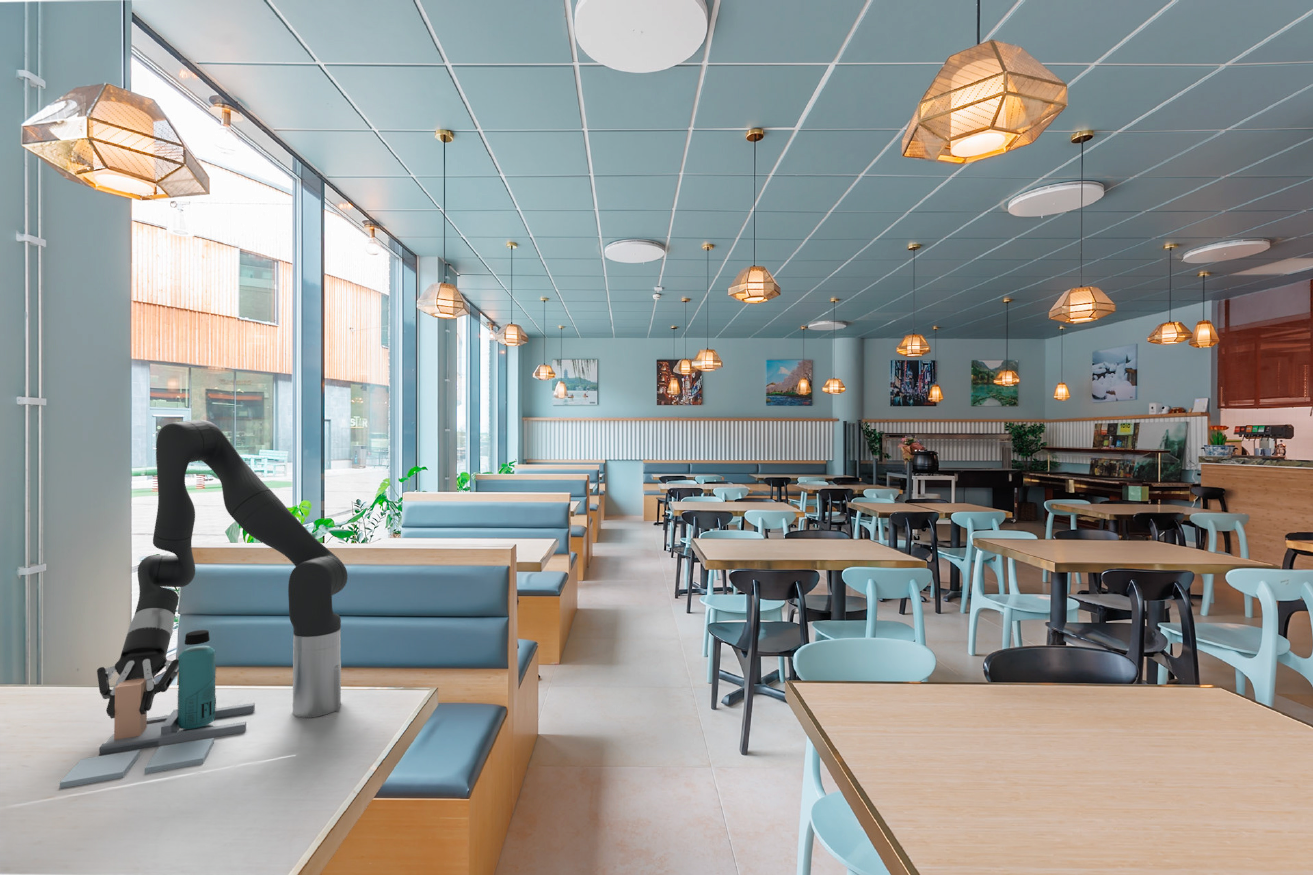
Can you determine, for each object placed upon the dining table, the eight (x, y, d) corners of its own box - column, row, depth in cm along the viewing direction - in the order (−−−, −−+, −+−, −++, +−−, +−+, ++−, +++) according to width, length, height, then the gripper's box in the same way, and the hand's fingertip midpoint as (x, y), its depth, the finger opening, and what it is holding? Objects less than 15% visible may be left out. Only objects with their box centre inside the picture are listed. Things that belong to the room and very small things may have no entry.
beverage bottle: (201, 736, 126) (202, 635, 126) (167, 737, 125) (169, 636, 126) (223, 722, 132) (224, 626, 133) (191, 723, 132) (192, 627, 132)
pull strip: (254, 709, 138) (255, 659, 138) (244, 731, 127) (245, 676, 127) (122, 729, 128) (123, 674, 129) (99, 755, 117) (100, 695, 118)
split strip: (214, 743, 122) (214, 737, 122) (203, 764, 114) (203, 757, 114) (81, 765, 114) (81, 758, 114) (59, 789, 106) (59, 782, 106)
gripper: (102, 629, 129) (74, 712, 117) (186, 622, 134) (168, 699, 123) (111, 648, 133) (86, 729, 122) (192, 640, 139) (175, 716, 128)
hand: (127, 714), depth 123 cm, fingers closed on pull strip, 4 cm apart
